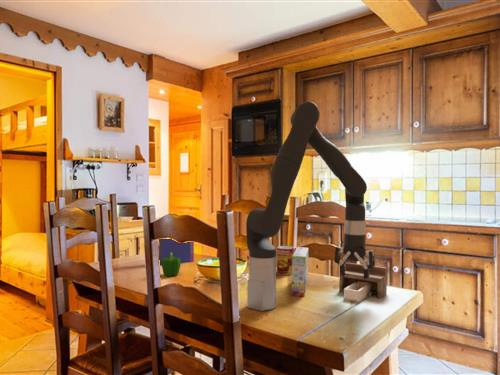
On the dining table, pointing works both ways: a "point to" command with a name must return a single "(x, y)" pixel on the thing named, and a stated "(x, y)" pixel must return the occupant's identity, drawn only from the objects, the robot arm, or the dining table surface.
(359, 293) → the tray shell
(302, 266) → the snack box
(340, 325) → the dining table surface
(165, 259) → the bell pepper
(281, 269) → the canned food
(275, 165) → the robot arm
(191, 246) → the cereal box
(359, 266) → the cubby
